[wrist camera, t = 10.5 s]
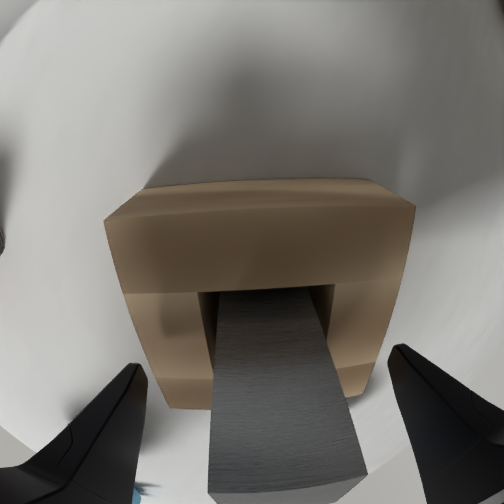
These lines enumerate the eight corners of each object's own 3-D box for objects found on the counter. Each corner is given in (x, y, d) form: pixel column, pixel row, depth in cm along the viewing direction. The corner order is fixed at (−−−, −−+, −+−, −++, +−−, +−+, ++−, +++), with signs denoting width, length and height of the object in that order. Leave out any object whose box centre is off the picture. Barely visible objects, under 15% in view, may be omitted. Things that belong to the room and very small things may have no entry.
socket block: (342, 343, 16) (362, 393, 12) (179, 354, 16) (169, 408, 12) (368, 179, 11) (416, 206, 8) (142, 189, 11) (103, 220, 8)
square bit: (291, 308, 14) (335, 502, 5) (228, 311, 14) (225, 512, 5) (293, 252, 13) (368, 474, 4) (223, 256, 13) (207, 493, 4)
